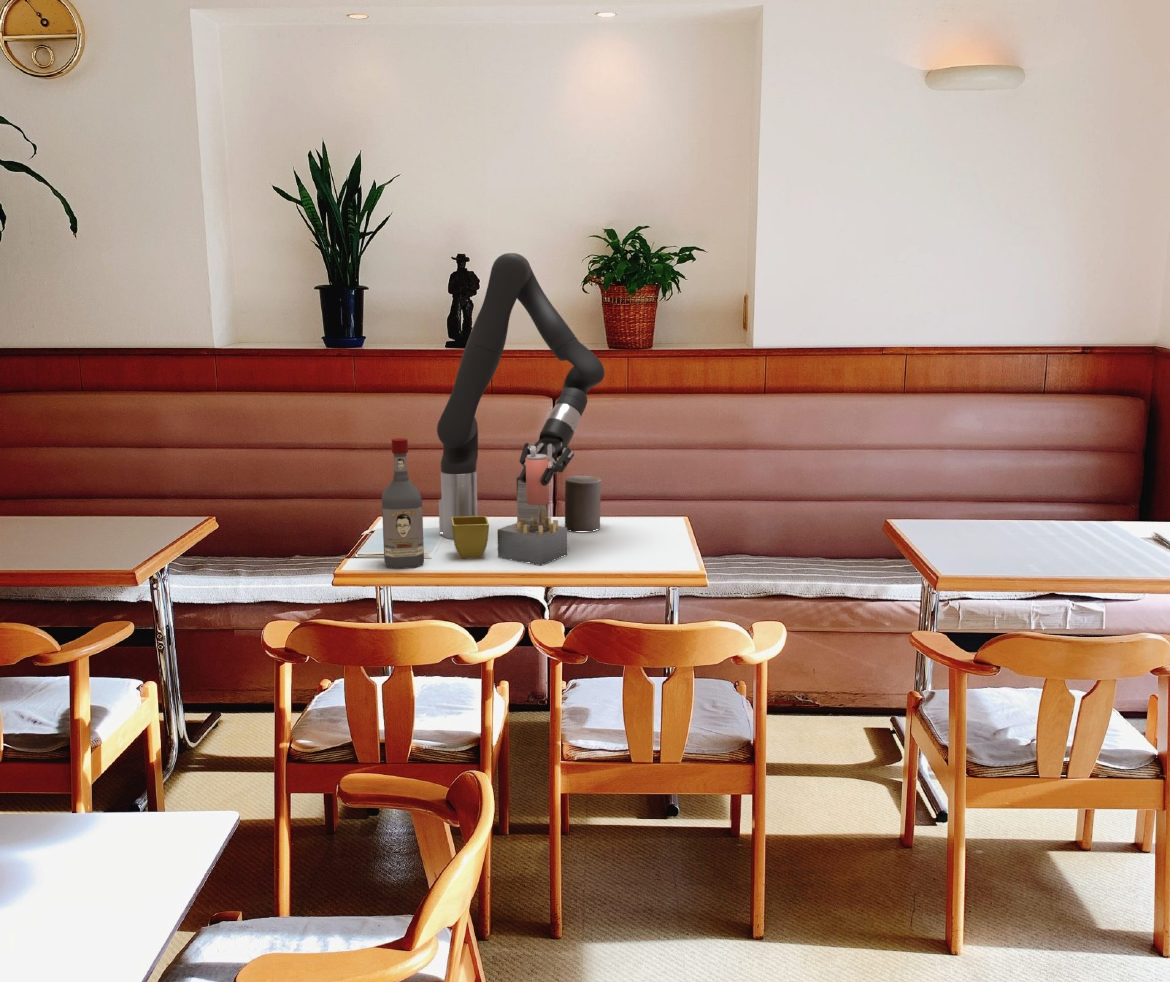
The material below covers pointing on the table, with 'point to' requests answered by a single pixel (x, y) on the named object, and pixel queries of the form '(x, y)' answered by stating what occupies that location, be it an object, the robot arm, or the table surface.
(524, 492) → the coffee box
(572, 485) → the pillar candle
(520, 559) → the grey block
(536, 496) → the spout can
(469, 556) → the flower pot
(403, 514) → the liquor
